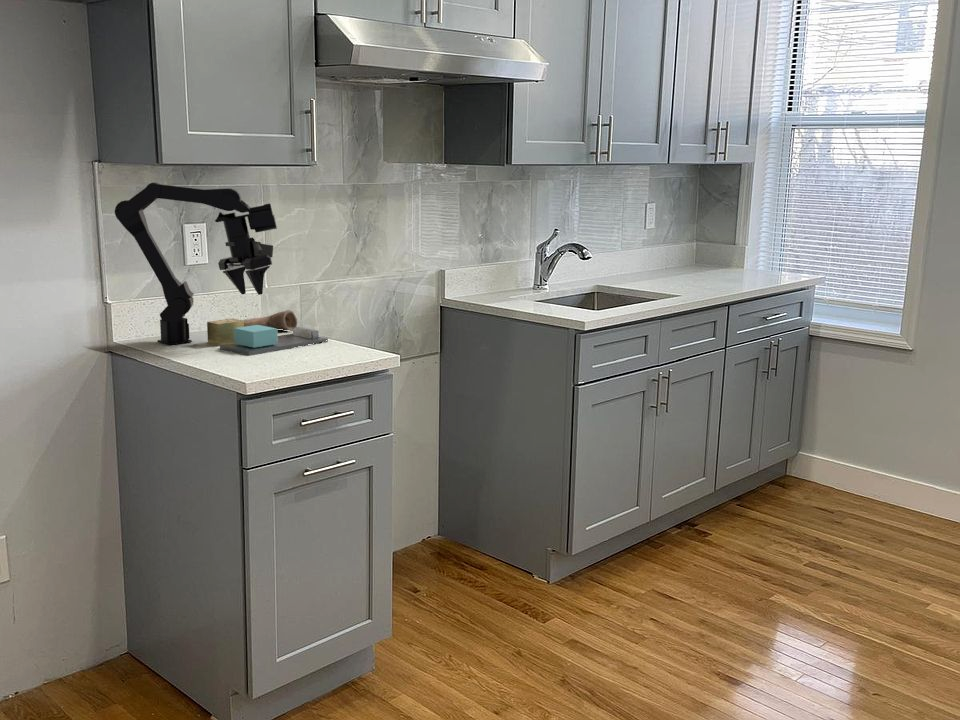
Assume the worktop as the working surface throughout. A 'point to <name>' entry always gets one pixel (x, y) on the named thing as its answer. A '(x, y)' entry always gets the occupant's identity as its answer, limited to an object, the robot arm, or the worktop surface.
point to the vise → (280, 342)
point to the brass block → (222, 331)
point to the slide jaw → (255, 336)
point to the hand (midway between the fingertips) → (251, 294)
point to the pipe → (275, 321)
